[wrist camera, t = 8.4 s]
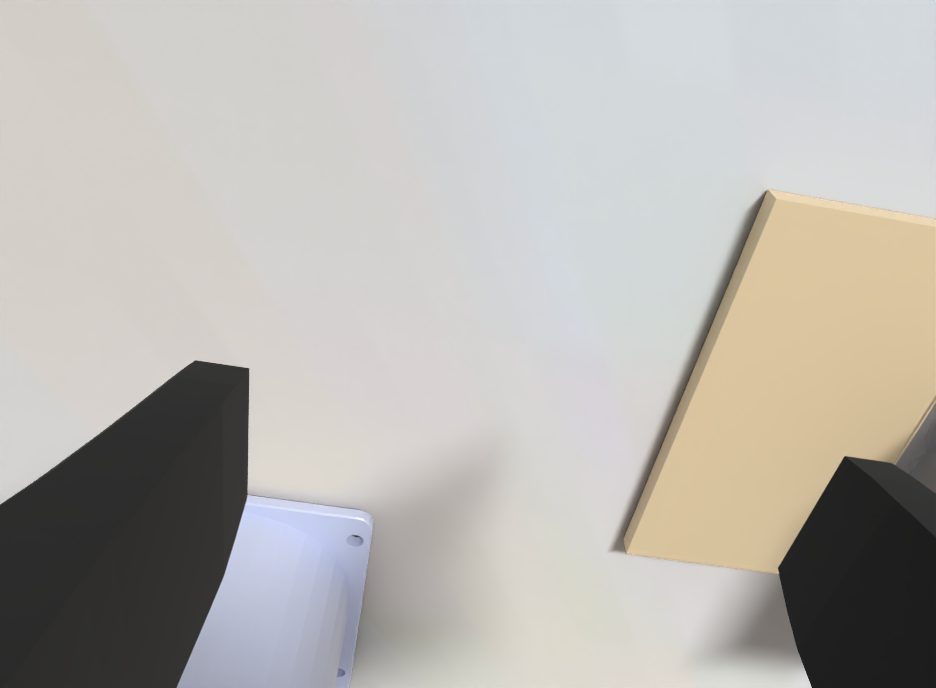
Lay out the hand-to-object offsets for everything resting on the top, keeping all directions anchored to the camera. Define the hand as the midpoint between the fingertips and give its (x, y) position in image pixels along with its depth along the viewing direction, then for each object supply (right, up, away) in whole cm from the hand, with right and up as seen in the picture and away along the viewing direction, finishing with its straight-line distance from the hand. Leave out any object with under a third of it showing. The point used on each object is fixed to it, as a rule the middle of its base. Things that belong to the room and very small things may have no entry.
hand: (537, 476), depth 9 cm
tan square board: (+12, -1, +12) cm, 17 cm away
